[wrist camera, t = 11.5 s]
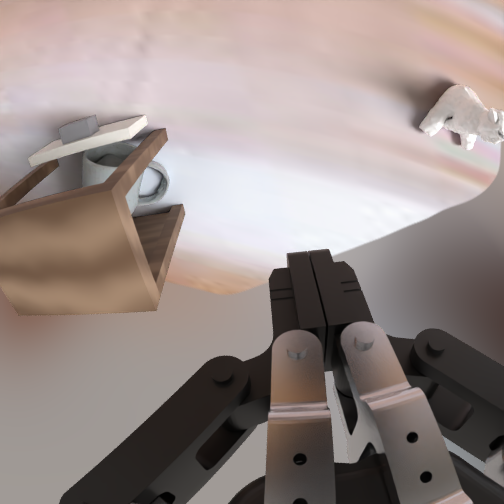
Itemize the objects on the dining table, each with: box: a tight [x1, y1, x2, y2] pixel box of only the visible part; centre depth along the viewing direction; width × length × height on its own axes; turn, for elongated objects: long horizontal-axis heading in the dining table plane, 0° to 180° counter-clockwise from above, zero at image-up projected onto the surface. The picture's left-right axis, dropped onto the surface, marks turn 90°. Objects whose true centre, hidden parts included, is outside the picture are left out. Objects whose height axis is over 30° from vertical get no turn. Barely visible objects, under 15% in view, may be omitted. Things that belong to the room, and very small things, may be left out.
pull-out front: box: [28, 115, 147, 167], centre depth 32 cm, size 3×14×6 cm, turn 97°
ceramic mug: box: [82, 142, 169, 215], centre depth 36 cm, size 11×8×8 cm
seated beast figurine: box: [419, 84, 504, 150], centre depth 29 cm, size 10×9×12 cm
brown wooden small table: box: [0, 128, 185, 316], centre depth 33 cm, size 12×18×18 cm, turn 97°
